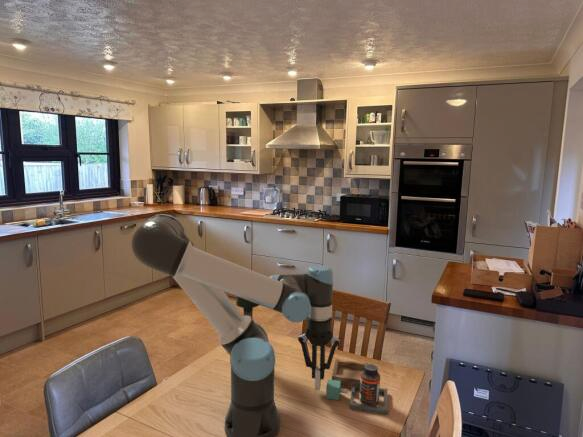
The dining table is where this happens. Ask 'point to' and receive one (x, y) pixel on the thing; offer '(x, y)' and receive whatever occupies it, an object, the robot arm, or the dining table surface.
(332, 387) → the pin
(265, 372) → the robot arm
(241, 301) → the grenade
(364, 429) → the dining table surface
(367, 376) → the supplement bottle
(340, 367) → the open box
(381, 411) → the socket collar
